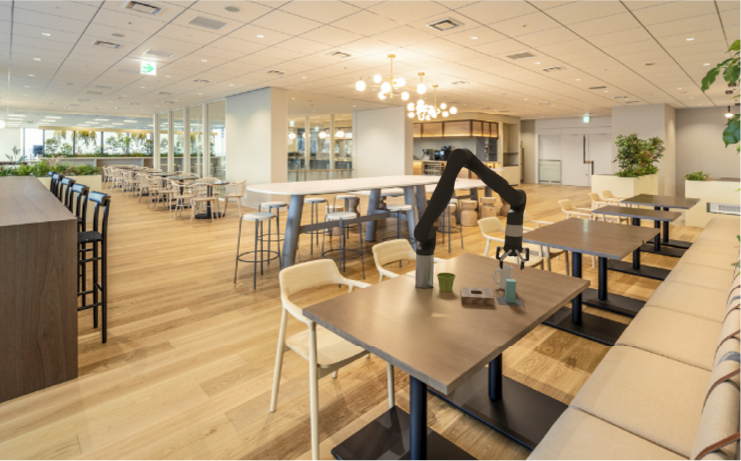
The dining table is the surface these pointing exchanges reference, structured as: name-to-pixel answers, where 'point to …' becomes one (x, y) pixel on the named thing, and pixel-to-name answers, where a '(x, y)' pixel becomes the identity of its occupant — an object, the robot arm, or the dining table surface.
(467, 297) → the pocket block
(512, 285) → the peg
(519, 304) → the mat
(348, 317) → the dining table surface
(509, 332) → the dining table surface
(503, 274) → the mug
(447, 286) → the plant pot
